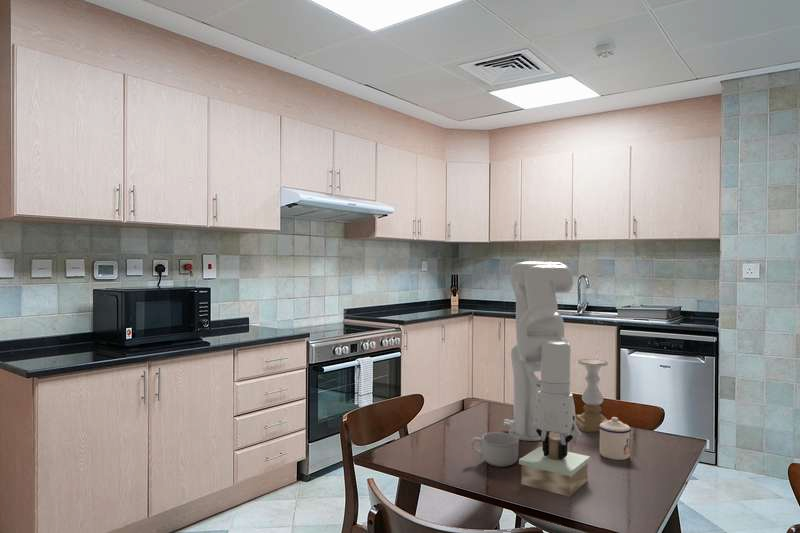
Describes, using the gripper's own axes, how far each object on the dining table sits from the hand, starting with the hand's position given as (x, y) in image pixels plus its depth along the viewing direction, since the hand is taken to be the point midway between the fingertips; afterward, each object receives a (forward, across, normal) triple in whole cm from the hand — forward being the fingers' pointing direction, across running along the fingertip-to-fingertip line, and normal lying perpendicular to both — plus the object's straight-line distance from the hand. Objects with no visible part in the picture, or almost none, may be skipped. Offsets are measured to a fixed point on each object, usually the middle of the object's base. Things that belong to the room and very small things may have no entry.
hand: (554, 455), depth 149 cm
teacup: (+8, -20, +4) cm, 22 cm away
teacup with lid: (+8, +5, +35) cm, 36 cm away
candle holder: (+8, -10, +59) cm, 60 cm away
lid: (+2, 0, 0) cm, 2 cm away
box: (+8, 0, 0) cm, 8 cm away
